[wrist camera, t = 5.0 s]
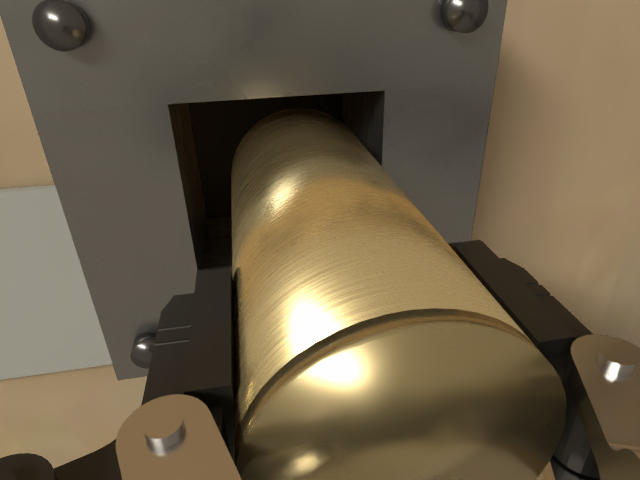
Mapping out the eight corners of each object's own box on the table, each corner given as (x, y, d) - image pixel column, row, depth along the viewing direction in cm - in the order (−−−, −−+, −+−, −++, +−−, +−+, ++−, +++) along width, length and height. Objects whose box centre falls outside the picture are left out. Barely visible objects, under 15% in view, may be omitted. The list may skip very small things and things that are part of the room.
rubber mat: (112, 179, 20) (110, 183, 20) (157, 352, 25) (155, 358, 25) (-146, 201, 19) (-153, 205, 18) (-46, 380, 24) (-50, 386, 23)
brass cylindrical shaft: (366, 103, 16) (606, 305, 6) (363, 229, 19) (530, 528, 8) (223, 112, 16) (212, 357, 5) (238, 242, 18) (252, 585, 8)
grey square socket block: (433, -41, 18) (526, -53, 13) (409, 260, 25) (463, 340, 19) (58, -33, 16) (-30, -43, 11) (141, 292, 23) (114, 391, 17)
